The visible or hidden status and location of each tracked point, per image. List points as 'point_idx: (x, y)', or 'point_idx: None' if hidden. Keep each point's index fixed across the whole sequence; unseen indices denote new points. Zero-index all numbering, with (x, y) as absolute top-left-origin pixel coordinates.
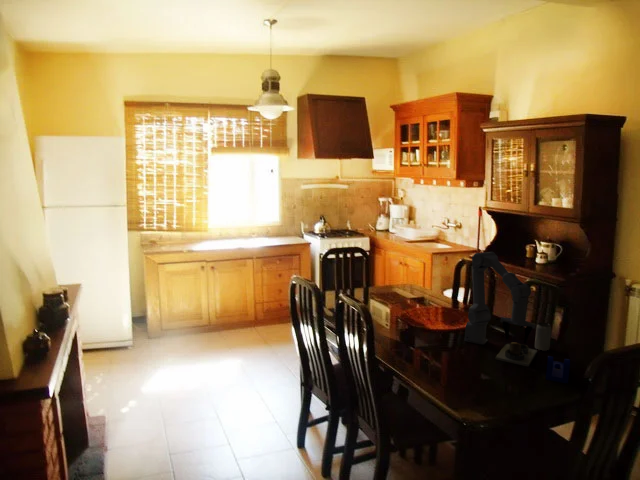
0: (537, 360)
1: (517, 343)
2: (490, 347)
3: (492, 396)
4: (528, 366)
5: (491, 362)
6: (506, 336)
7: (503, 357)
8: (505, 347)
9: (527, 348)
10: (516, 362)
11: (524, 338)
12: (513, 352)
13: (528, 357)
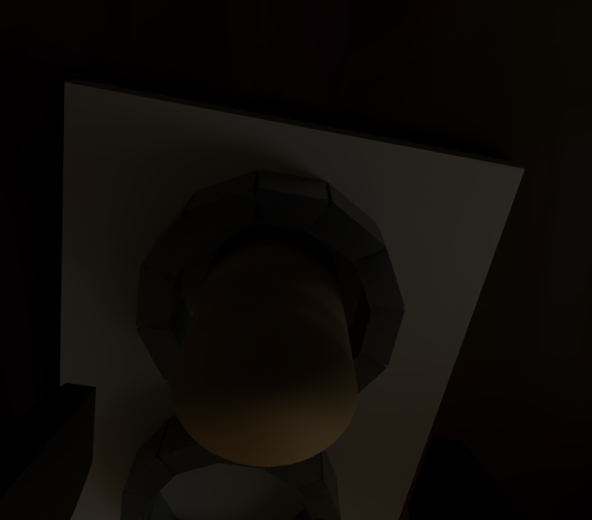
0: (18, 338)
1: (237, 435)
2: (530, 485)
3: None
4: (76, 79)
5: (582, 14)
6: (483, 481)
7: (416, 202)
8: (380, 508)
9: (131, 503)
10: (238, 113)
11: (42, 451)
12: (291, 259)
13: (109, 333)
